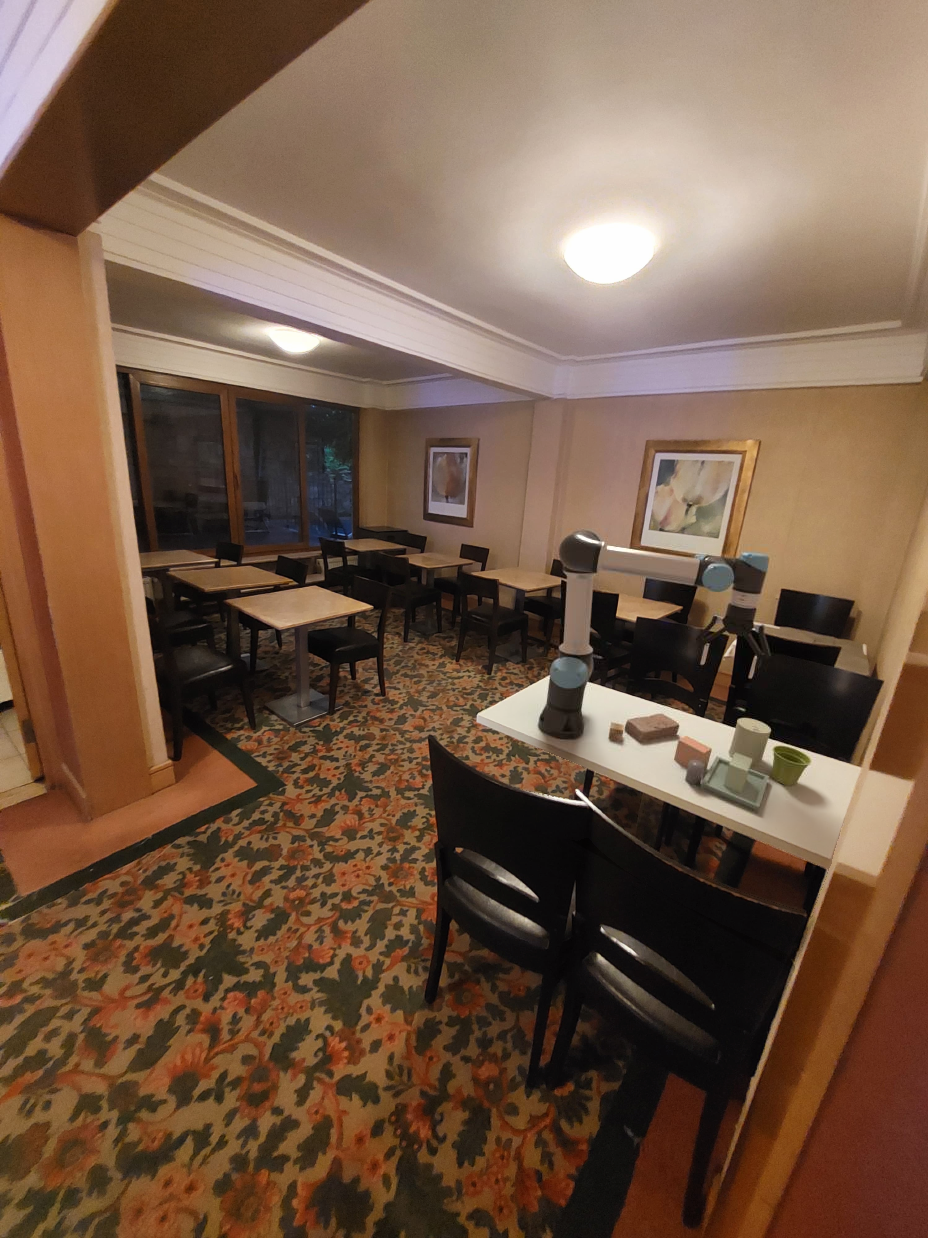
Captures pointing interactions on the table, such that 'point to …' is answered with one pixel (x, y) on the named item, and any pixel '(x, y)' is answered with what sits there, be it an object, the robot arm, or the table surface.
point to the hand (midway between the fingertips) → (725, 670)
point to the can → (750, 739)
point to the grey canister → (694, 772)
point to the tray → (746, 798)
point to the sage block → (737, 772)
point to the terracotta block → (692, 751)
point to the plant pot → (788, 764)
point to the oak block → (616, 731)
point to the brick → (651, 727)
